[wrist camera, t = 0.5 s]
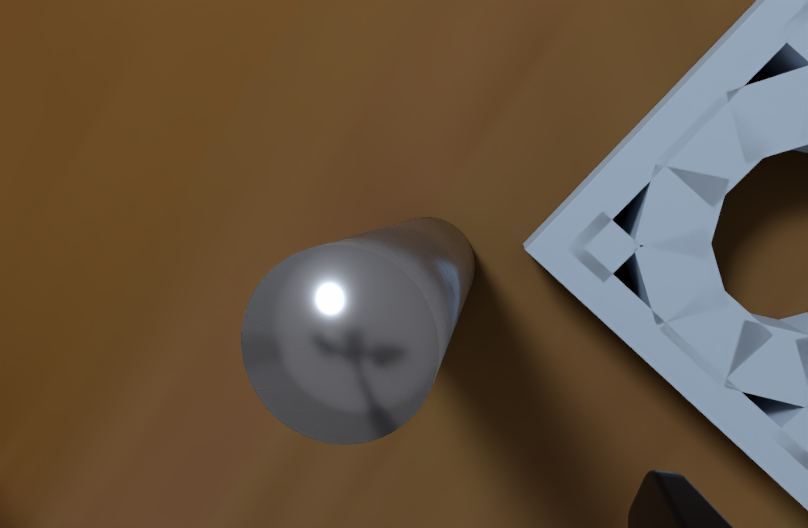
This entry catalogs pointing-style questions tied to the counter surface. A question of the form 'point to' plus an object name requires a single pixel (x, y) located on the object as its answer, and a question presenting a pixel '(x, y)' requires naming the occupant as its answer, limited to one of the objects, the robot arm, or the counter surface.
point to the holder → (700, 239)
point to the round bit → (357, 329)
